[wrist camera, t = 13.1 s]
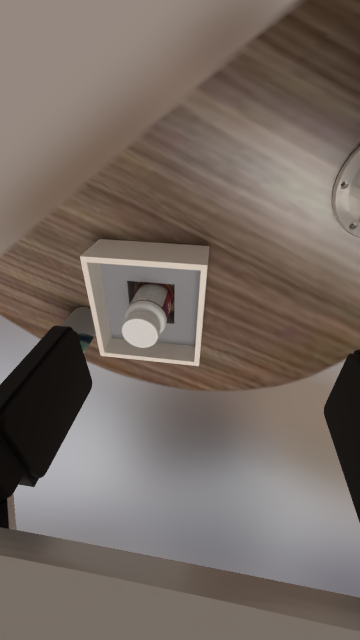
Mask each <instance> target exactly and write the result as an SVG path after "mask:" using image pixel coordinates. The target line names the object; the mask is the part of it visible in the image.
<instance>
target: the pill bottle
mask: <svg viewBox="0 0 360 640" xmlns="http://www.w3.org/2000/svg"><path fill="white" fill-rule="evenodd" d="M173 298H174V295H173V291H172V289H171V287H170V286H169V285H168V284H162V283H150V282H143V283H142V284H141V285H140V287H139V289H138V291H137V292H136V294H135V296H134V298H133V300H132V302H131V304H130V305H129V307H128V309H127V311H126V314H125V322H124V324H123V326H122V334H123V337H124V338H125V340H126V341H127V342H128V343H130V344H131V345H133V346H136V347H140V348H147V347H150V346H152V345H154V344H155V343H156V341H157V339H158V337H159V334H160V333H161V332H162V331H163V330H164V328H165V326H166V323H167V319H168V316H169V313H170V309H171V306H172V302H173Z"/></svg>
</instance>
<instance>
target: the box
mask: <svg viewBox="0 0 360 640" xmlns="http://www.w3.org/2000/svg"><path fill="white" fill-rule="evenodd" d="M208 257H209V246H200V245H185V244H169V243H153V242H138V241H122V240H106V239H99V240H98V241H97V242H95V243H94V244H93V245H92V246H91V247H90V248H89V249H88V250H86V251H85V252H84V253H83V254H82V255H81V256H80V259H81V264H82V269H83V274H84V278H85V283H86V288H87V293H88V298H89V303H90V307H91V312H92V317H93V322H94V327H95V331H96V336H97V341H98V346H99V351H100V355H101V356H109V357H118V358H128V359H137V360H147V361H156V362H166V363H175V364H185V365H194V366H199V359H200V349H201V338H202V327H203V315H204V304H205V292H206V280H207V269H208ZM133 281H137V282H150V283H162V284H175V305H174V314H170V313H169V316H168V319H167V323H166V326H165V328H164V330H163V331H162V332H161V333H160V334H159V337H158V339H157V341H156V343H155V344H154V345H152V346H150V347H147V348H140V347H136V346H133V345H131V344H130V343H128V342H127V341H126V340H125V338H124V337H123V334H122V326H123V324H124V322H125V314H126V311H127V309H128V307H129V305H130V304H131V302H132V300H133V298H134V287H133Z"/></svg>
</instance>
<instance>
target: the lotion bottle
mask: <svg viewBox="0 0 360 640" xmlns="http://www.w3.org/2000/svg"><path fill="white" fill-rule="evenodd" d="M61 326H67V327H72V328H73V330H74V331H76V332H77V334H78V337H79V340H80V343H81V347H82V350H83V353H84V352H85V351H86V349H87V347H88V346H89V344H90V343H91V341H92V339H93V338H94V336H95V334H96V331H95V327H94V322H93V317H92V312H91V309H90V308H88V307H79V308H76V309H75V310H74V311H73V312H72V313H71V314H70V315H69V317H68V318H67V319H66V320H65V321H64V323H63V324H62V325H61Z"/></svg>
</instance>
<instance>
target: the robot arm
mask: <svg viewBox="0 0 360 640" xmlns="http://www.w3.org/2000/svg"><path fill="white" fill-rule="evenodd" d="M342 182H344V184H343V185H342V186H340V185H341V183H342ZM332 207H333V211H334V215H335V217H336V219H337V221H338V223H339V224H340V225H341V226H342V227H343V228H344V229H345V230H346V231H347V232H349V233H351V234H352V235H354V236H356V237H360V146H359V147H358V148H357V149H356V150H355V151H354V152H353V153H352V154H351V156H350V157H349V158H348V160H347V161H346V162H345V164H344V165H343V167H342V169H341V171H340V173H339V175H338V177H337V180H336V182H335V185H334V189H333V195H332ZM350 224H352V225H351V226H350ZM91 387H92V379H91V376H90V372H89V369H88V366H87V363H86V360H85V356H84V353H83V350H82V347H81V343H80V340H79V337H78V334H77V332H76V331H74V330H73V328H72V327H67V326H53V327H52V328H51V329H50V330H49V331H48V333H47V334H46V335H45V336H44V337H43V338H42V339H41V340H40V341H39V343H38V344H37V345H36V346H35V347H34V348H33V349H32V350H31V351H30V353H29V354H28V355H27V356H26V357H25V358H24V359H23V360H22V361H21V362H20V364H19V365H18V366H17V367H16V368H15V369H14V370H13V371H12V373H11V374H10V375H9V376H8V377H7V378H6V379H5V380H4V381H3V382H2V383H1V385H0V640H360V598H358V597H353V596H349V595H344V594H339V593H334V592H329V591H324V590H319V589H314V588H309V587H304V586H299V585H294V584H289V583H284V582H279V581H274V580H269V579H264V578H260V577H254V576H250V575H244V574H240V573H235V572H230V571H225V570H219V569H214V568H209V567H204V566H198V565H194V564H189V563H184V562H179V561H174V560H168V559H163V558H158V557H153V556H148V555H143V554H138V553H132V552H128V551H123V550H118V549H112V548H107V547H102V546H97V545H92V544H86V543H81V542H76V541H71V540H65V539H60V538H55V537H50V536H45V535H39V534H34V533H29V532H23V531H18V530H16V520H15V508H14V496H13V493H14V491H15V489H16V487H17V486H18V484H19V485H25V486H31V487H34V486H35V484H36V482H37V481H38V479H39V478H41V477H43V476H44V475H45V473H46V472H47V470H48V468H49V466H50V465H51V463H52V461H53V459H54V457H55V455H56V453H57V452H58V450H59V448H60V446H61V444H62V442H63V440H64V439H65V437H66V435H67V433H68V431H69V429H70V427H71V425H72V424H73V422H74V420H75V418H76V416H77V414H78V412H79V411H80V409H81V407H82V405H83V403H84V401H85V400H86V398H87V396H88V394H89V392H90V390H91ZM324 415H325V419H326V422H327V425H328V428H329V431H330V434H331V437H332V440H333V443H334V446H335V449H336V452H337V455H338V458H339V461H340V464H341V467H342V470H343V473H344V476H345V479H346V482H347V485H348V488H349V491H350V494H351V497H352V501H353V504H354V507H355V510H356V513H357V516H358V518H359V522H360V350H356V351H355V352H354V353H353V354H349V355H348V357H347V359H346V361H345V363H344V365H343V367H342V369H341V372H340V374H339V376H338V378H337V380H336V382H335V385H334V387H333V389H332V391H331V393H330V395H329V397H328V400H327V402H326V404H325V407H324Z"/></svg>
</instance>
